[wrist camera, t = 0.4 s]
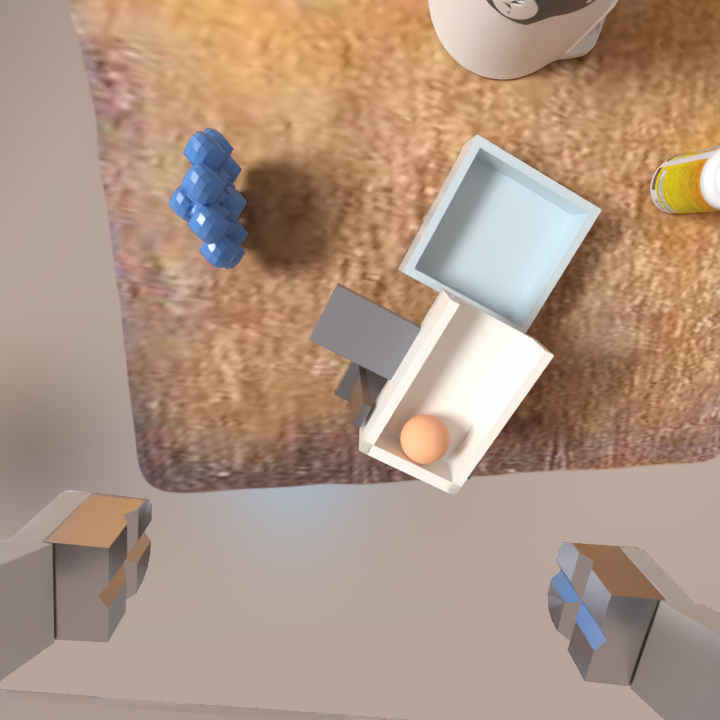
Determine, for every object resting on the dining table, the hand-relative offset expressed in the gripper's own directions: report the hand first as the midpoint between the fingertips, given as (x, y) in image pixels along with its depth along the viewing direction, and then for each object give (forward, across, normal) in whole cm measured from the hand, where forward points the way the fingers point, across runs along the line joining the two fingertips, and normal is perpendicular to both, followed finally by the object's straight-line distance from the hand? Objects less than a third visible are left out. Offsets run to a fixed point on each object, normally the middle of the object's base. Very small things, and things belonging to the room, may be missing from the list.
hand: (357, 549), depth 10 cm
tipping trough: (+31, -6, +4) cm, 32 cm away
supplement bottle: (+43, -32, -15) cm, 55 cm away
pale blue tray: (+42, -14, -7) cm, 45 cm away
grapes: (+43, +13, -7) cm, 45 cm away
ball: (+28, -8, +9) cm, 31 cm away
